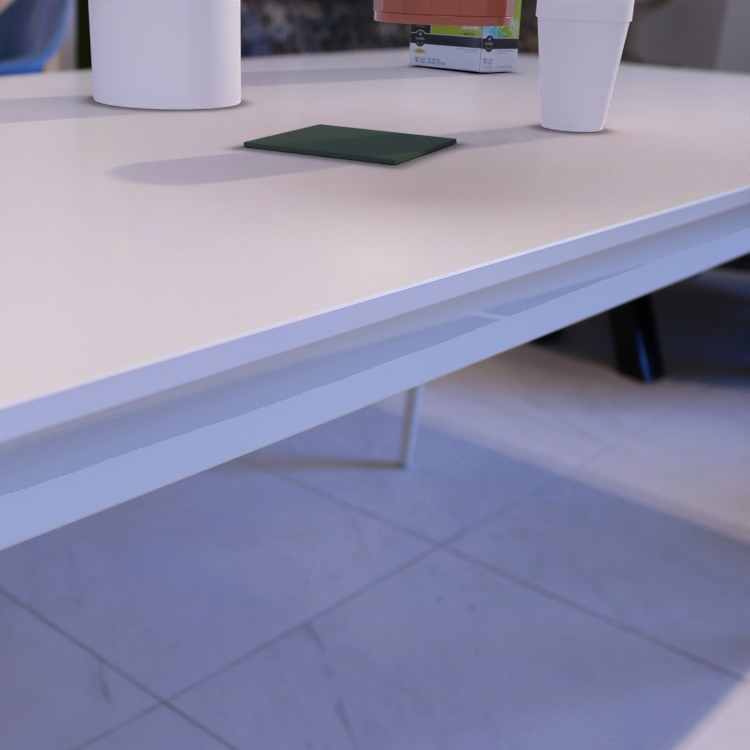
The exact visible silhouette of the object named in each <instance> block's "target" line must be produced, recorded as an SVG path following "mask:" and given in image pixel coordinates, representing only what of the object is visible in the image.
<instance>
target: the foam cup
mask: <svg viewBox="0 0 750 750" xmlns="http://www.w3.org/2000/svg"><path fill="white" fill-rule="evenodd" d="M634 7H635V0H536V7H535V8H536V9H535V17H537V37H538V38H537V41H538V44H537V46H538V76H539V78H538V79H539V102H540V104H539V108H540V109H539V110H540V120H541V122H540V126H541V127H542V128H545V129H549V130H553V131H560V132H573V133H593V132H595V133H596V132H602V131H603V130H604V125H605V124H606V120H607V116H608V112H609V108H610V104H611V99H612V95H613V91H614V88H615V83H616V79H617V76H618V71H619V67H620V63H621V59H622V55H623V51H624V46H625V42H626V39H627V35H628V30H629V26H630V23H631V22H633V16H634Z"/></svg>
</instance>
